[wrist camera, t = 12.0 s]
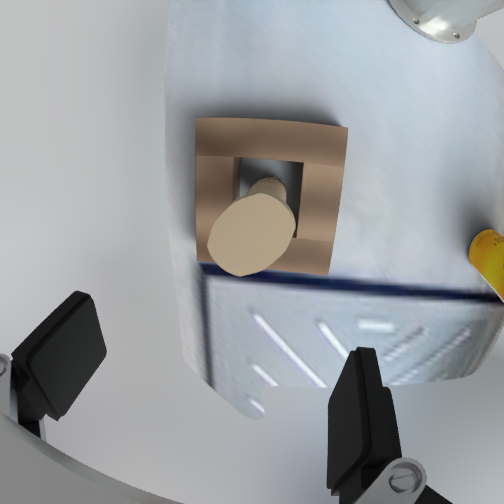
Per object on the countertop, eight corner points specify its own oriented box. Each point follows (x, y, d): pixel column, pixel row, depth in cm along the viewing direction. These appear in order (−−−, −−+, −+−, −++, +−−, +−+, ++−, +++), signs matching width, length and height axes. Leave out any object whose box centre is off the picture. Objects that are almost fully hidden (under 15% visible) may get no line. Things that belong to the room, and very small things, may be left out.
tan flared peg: (236, 193, 34) (194, 242, 21) (275, 154, 32) (256, 178, 18) (266, 221, 35) (243, 287, 22) (306, 185, 33) (309, 231, 19)
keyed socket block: (207, 118, 31) (196, 117, 28) (342, 127, 29) (348, 127, 26) (206, 246, 38) (196, 260, 34) (325, 259, 36) (327, 275, 33)
